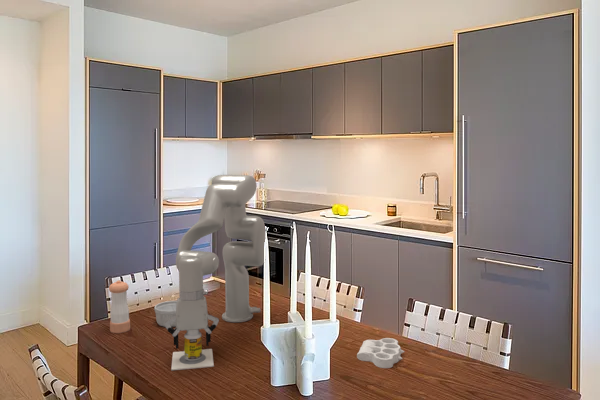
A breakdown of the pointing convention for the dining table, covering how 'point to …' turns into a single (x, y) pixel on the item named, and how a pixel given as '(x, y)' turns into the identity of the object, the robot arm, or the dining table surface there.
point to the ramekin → (165, 312)
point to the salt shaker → (119, 307)
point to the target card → (182, 363)
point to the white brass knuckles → (380, 352)
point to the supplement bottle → (193, 345)
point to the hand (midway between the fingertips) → (192, 345)
